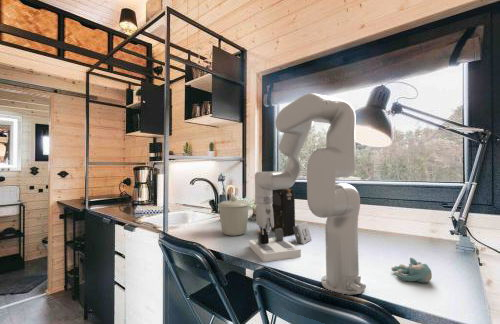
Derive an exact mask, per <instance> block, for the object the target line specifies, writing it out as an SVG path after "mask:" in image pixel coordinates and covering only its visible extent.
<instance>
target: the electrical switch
mask: <svg viewBox="0 0 500 324" xmlns="http://www.w3.org/2000/svg"><path fill="white" fill-rule="evenodd" d="M293 230H294V234H293V235H294V236H295V237H294V238H295V241H296V243H297V244H300V243H301V245H305V244H306V243H309V242H310V241H312V235H311V232H310V229H309V225H308V222H307V221H303V222H301V223H298V224H296V225H295V227H293Z"/></svg>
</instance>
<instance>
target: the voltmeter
mask: <svg viewBox="0 0 500 324" xmlns="http://www.w3.org/2000/svg"><path fill="white" fill-rule="evenodd" d="M295 195H296V194H295V189H292V188H288V189H278V190H272V196H273V204H272V207H273V216H274V227H273V228H271V227H270V231H271V232H274V233H275V229H279V228H281V229H283V237H287V236H292V235H293V236H294V235H295V234H294V230H293V227H295V226H296V212H295V211H296V208H295V207H296V204H295V203H296V202H295V201H296V199H295Z"/></svg>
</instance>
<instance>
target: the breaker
mask: <svg viewBox="0 0 500 324" xmlns="http://www.w3.org/2000/svg"><path fill="white" fill-rule="evenodd" d="M274 235H275V236H274V238H275V240H276V241H282V240H283V239H284V236H283V229H281V228H279V229H275V232H274Z"/></svg>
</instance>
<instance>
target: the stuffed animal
mask: <svg viewBox="0 0 500 324" xmlns="http://www.w3.org/2000/svg"><path fill="white" fill-rule="evenodd" d="M409 262H410V263H408V265H407V266H406V265H405V264H402V263H401V264H399V265H395V266H392V267H391V272H395V275H396V277H397V278H398V279H399V280H402V281H404V282H407V283H411V282H414V281H415V282H417V283H424V284H425V283H428V282H430V281H431V280H432V279H433V278H432V277H433V274H432V270H431V268H430V267H429V265H428V264H426V263H422V262H417V260H416V259H415V258H413V257H410V258H409ZM407 275H408V276H407Z"/></svg>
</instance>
